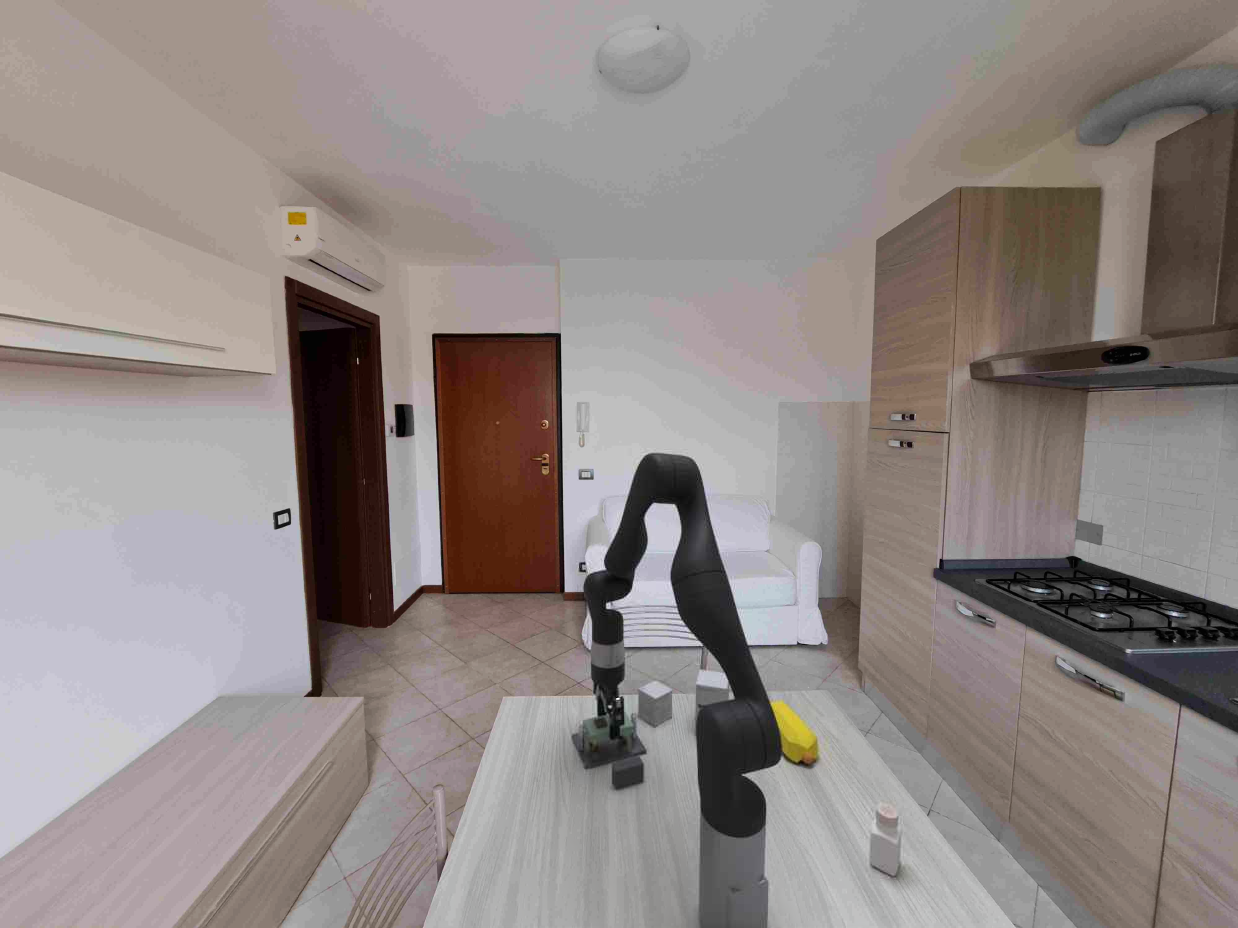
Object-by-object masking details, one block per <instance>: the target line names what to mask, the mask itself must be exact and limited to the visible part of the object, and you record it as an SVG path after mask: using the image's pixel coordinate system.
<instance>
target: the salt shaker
mask: <svg viewBox="0 0 1238 928" xmlns="http://www.w3.org/2000/svg"><path fill="white" fill-rule="evenodd" d="M875 809H876V810H875V818H874V820H873V822H872V825H871V828H870V837H869V854H868V855H869V858H868V860H869V864H870V865H871V866H873V867H874V868H876V869H878V870H880V871H881V872H883V873H886V874H887V875H890V876H892V877H895V876H896V875H897V873H898V869H899V866H900V862H901V849H902V829H901V828H900V827H899V811H898V810H897V809H896V808H895V807H894V806H893V805H890V804H888V803H886V802H880V803H878V804H877V805H876V808H875Z"/></svg>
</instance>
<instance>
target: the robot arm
mask: <svg viewBox="0 0 1238 928" xmlns="http://www.w3.org/2000/svg"><path fill="white" fill-rule="evenodd" d="M653 504H663V505H674V506H675V507H676V510H677V512H678V516H679V521H680V530H681V532H680V538H679V542H678V545H677V547H676V550H675V552H674V553H675V554H674V556H673V560H672V562H671V569H670V573H669V574H670V577H669V578H670V583H671V587H672V588H671V589H672V593H673V596H674V602H675V605H676V608H677V612H678V614H679V617H680V619H681V620H682V622H683V624H684V625H685V627H686V628H687V629H688V630H689V631H690V632H691V635H693V636H694V637H695V638H696V639H697V641H699V643H700V644H702V646H703V647H704V648H705V649H707V650H708V652H709V653H710V654H711V655H712V657H713V658H714V659H715V660H716V661H717V662H718V664H719V667H721V669H722V671H723V673H725V675H726V677H727V679H728V682H729V688H730V689H731V692H732V695H733V698H731V699H729V700H727V701H722V702H717V703H711V704H707V705H705V706H703V707H702V708H701V709H700V711H699V713H698V716H697V721H696V735H695V736H696V739H695V741H696V742H695V743H696V761H697V763H696V764H697V765H696V766H697V784H698V791H699V799H700V801H699V804H700V805H699V806H700V807H699V808H700V811H699V814H700V815H699V816H700V817H699V859H698V860H699V861H698V862H699V864H698V865H699V868H698V869H699V873H698V874H699V875H698V877H699V878H698V918H699V920H698V921H699V924H700V927H701V928H768V920H769V912H768V911H769V887H770V886H769V885H770V883H769V881H768V879H767V878H766V876H765V873H766V872H765V869H766V867H765V866H766V840H767V839H766V837H767V836H766V835H767V801H766V798H765V794H764V792H763V791H762V788H760V786H758V784H757V783H756V782H755V781H753V780H752V779H750V778H749V777H747V776H746V775H747V774H750V773H753V772H757V771H758V772H759V771H762V770H767V769H770V768H773V767H774V766H777V765H778V764H779V763H780V761H781V759H782V755H783V750H782V740H781V735H780V730H779V726H778V723H777V720H776V717H775V714H774V711H773V709H772V706H771V703H770V702H771V701H770V699H769V696H768V693H767V691H766V688H765V686H764V684H763V681H762V679H761V676H760V673H759V670H758V668H757V665H756V663H755V661H754V658H753V655H752V653H751V650H750V647H749V643H748V641H747V638H746V635H745V632H744V629H743V625H742V622H741V618H740V615H739V613H738V609H737V606H736V601H735V599H734V598H735V597H734V594H733V591H732V588H731V587H732V586H731V584H730V580H729V577H728V574H727V571H726V569H725V566H724V565H725V564H724V563H723V560H722V557H721V553H720V550H719V547H718V542H717V540H716V536H715V532H714V528H713V525H712V521H711V516H710V515H711V514H710V512H709V505H708V501H707V497H706V491H705V487H704V482H703V477H702V474H701V471H700V468H699V466H698V464H697V462H696V460H694V459H693V458H692V457H690V456H687V455H683V454H673V453H666V452H665V453H663V452H649V453H647V454H646V455H644V456H643V457H642V458H641V459H640V462H639V463H638V465H637V467H636V470H635V472H634V475H633V478H632V481H631V485H630V489H629V492H628V495H627V499H626V502H625V505H624V509H623V512H622V515H621V520H620V523H619V525H618V529H617V531H616V533H615V535H614V537H613V539H612V540H611V543H610V545H609V546H608V549H607V551H606V553H605V555H604V559H603V565H604V566H603V567H604V568H605V569H602V570H598V571H592V572H591V573H588V575H587V576H586V577H585V579H584V581H583V582H584V583H583V587H582V588H583V590H582V591H583V595H584V598H585V601H586V604H587V608H588V613H589V617H590V620H591V645H590V679H591V681H592V683H593V685H592V687H593V691H592V693H593V694H594V695H595V700H596V709H597V710H596V714H597V715H596V717H598V716H602V715H607V714H608V718H609V737H610V739H611V740H616V739H619V738H620V725H624V724H625V720H624V711H625V698H624V696H623V695H622V696H620V695H621V694H620V689H619V687H618V686H619V685H620V684H622V682H623V681H624V679H625V677H626V671H625V670H626V661H625V660H626V650H625V649H626V647H625V640H624V638H625V635H624V632H625V631H624V623H625V622H624V616H623V614H622V612H620V611H619V610H617V609H613V608H607V605H608V603H611V602H615V601H616V602H617V601H620V600H622V599H623V600H624V599H625V598H626V597H627V596H628V595H629V594H630V593H631V591H632V589H633V586H634V580H635V574H636V570H637V568H638V566H639V565H640V563H641V561H642V559H643V558H644V555H645V554H646V552H647V548H648V544H649V536H648V530H647V525H646V520H645V518H646V514H647V512H648V510H649V509H650V508H651V506H653ZM594 695H593V696H594ZM609 706H611V707H609ZM611 713H612V714H611ZM616 716H617V717H616Z"/></svg>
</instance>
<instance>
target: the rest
mask: <svg viewBox="0 0 1238 928" xmlns="http://www.w3.org/2000/svg"><path fill="white" fill-rule="evenodd" d="M644 766H645V764H644V762H643V760H642V758H641V757H640V755H638V756H635V757H631V758H627V759H623V760H619V761H615V762H612V763H611V783H612V786H613V787H614V789H615V790H616V791H617V790H622V789H624V788H628V787H633V786H636V785H639V784H642V783H644V782H645V767H644Z"/></svg>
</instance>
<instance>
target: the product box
mask: <svg viewBox="0 0 1238 928" xmlns="http://www.w3.org/2000/svg"><path fill="white" fill-rule="evenodd" d="M637 693H638V699H637V700H638V701H637V703H638V704H637V708H638V709H637V710H638V712H637V717H639V718H640V719H641V720H644V721H645V722H646V723H648V724H650V725H652V726H653V727H654V728H655V727H657V726H660V725H661V724H662V723H665V722H666V721H668V720H670V719H671V718H672V717H673V690H672V688H670V687H668V686H666V685H665V684H664V683H663V684H662V683H661V682H659V681H657V680H654V681H652V682H649V683H647V684H645V685H643V686H641V687H639V688H638V692H637Z"/></svg>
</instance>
